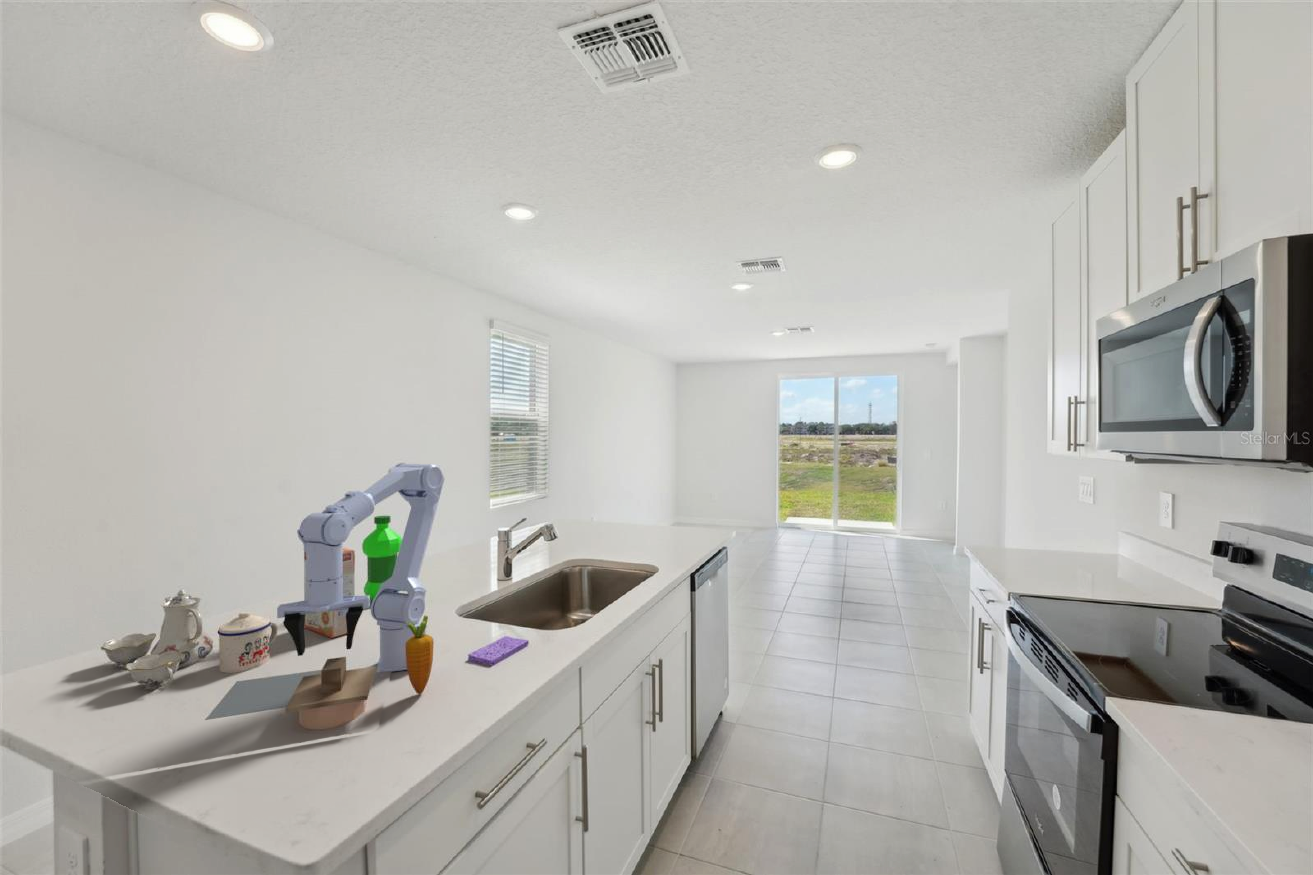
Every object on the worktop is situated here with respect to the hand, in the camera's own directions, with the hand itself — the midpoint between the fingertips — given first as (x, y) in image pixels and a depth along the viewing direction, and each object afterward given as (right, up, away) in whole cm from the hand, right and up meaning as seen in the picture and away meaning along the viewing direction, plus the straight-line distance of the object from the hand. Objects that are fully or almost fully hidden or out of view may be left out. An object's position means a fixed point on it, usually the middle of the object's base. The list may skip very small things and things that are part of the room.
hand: (325, 650), depth 100 cm
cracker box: (-22, -10, +37) cm, 44 cm away
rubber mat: (-13, -10, +4) cm, 17 cm away
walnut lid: (+3, -6, -3) cm, 7 cm away
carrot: (+16, -11, +4) cm, 19 cm away
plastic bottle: (-20, -9, +60) cm, 64 cm away
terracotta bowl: (+4, -10, -3) cm, 11 cm away
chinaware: (-44, -10, +15) cm, 48 cm away
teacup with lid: (-27, -10, +18) cm, 34 cm away
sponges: (+25, -11, +24) cm, 36 cm away
